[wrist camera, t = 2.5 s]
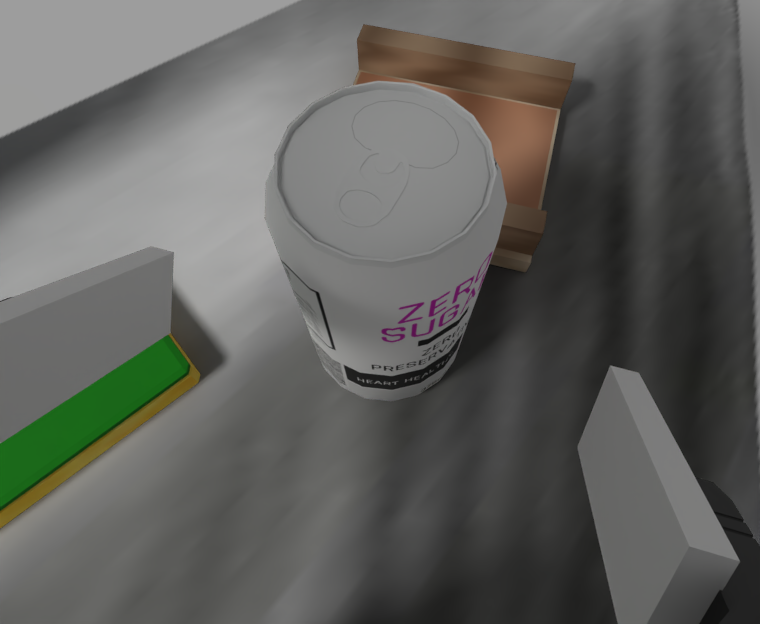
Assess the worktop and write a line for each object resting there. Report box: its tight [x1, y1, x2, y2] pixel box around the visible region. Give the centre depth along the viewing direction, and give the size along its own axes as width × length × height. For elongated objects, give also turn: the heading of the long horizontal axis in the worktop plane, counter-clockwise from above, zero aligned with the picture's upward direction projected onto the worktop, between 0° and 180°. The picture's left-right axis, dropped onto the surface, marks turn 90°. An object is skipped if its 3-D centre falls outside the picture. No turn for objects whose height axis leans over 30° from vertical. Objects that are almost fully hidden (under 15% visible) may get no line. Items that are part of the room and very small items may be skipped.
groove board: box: [353, 24, 575, 272], centre depth 34 cm, size 14×14×4 cm
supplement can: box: [265, 81, 507, 401], centre depth 23 cm, size 8×8×15 cm
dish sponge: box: [0, 333, 200, 528], centre depth 28 cm, size 7×14×2 cm, turn 130°
